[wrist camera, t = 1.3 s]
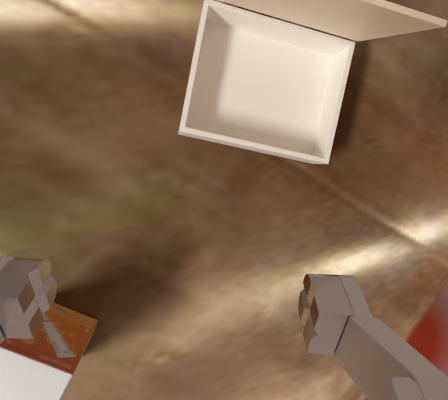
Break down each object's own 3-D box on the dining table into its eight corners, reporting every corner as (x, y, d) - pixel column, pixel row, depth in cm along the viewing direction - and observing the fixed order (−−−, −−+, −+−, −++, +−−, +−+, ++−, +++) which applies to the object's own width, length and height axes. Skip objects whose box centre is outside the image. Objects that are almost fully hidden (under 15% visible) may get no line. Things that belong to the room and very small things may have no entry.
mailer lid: (445, 27, 29) (447, 20, 29) (216, -47, 26) (217, -54, 26) (357, 41, 44) (359, 37, 44) (205, -4, 41) (205, -9, 40)
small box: (99, 319, 48) (74, 375, 35) (78, 359, 48) (46, 429, 35) (43, 295, 47) (-4, 345, 34) (22, 337, 47) (-34, 402, 34)
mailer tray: (312, 163, 51) (328, 163, 46) (178, 134, 47) (179, 130, 42) (336, 54, 50) (355, 42, 45) (200, 15, 46) (204, -2, 41)
